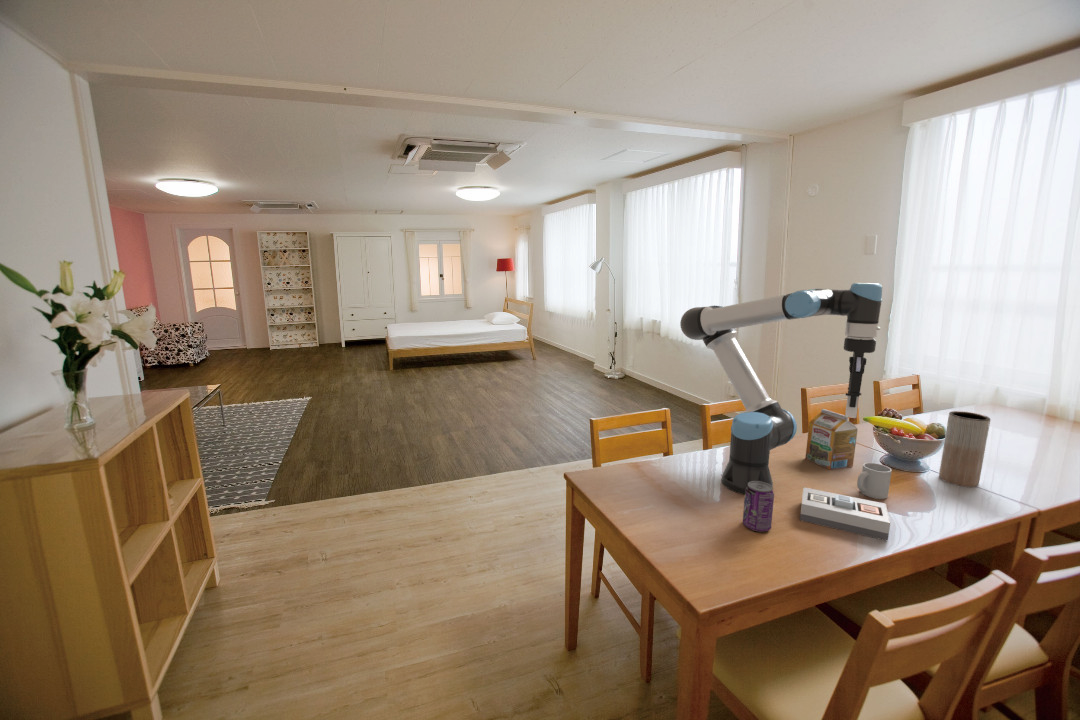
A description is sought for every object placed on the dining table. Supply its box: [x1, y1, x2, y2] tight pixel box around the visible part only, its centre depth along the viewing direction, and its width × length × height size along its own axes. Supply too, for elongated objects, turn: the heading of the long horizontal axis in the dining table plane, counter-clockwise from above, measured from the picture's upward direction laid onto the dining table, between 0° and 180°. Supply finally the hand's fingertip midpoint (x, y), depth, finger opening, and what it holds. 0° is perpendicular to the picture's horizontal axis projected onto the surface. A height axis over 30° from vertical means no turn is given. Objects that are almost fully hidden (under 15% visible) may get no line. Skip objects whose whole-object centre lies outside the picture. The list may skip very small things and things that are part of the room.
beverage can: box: [742, 481, 775, 533], centre depth 127 cm, size 7×7×12 cm
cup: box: [856, 462, 892, 500], centre depth 146 cm, size 7×10×9 cm
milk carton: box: [805, 408, 858, 471], centre depth 170 cm, size 11×11×19 cm
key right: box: [860, 504, 879, 515], centre depth 128 cm, size 4×4×3 cm
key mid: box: [834, 493, 853, 509], centre depth 131 cm, size 4×4×3 cm
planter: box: [938, 410, 991, 488], centre depth 155 cm, size 10×10×23 cm
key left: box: [810, 494, 827, 504], centre depth 134 cm, size 4×4×3 cm
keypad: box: [799, 487, 891, 542], centre depth 131 cm, size 20×12×5 cm, turn 59°
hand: (850, 416), depth 139 cm, fingers closed
